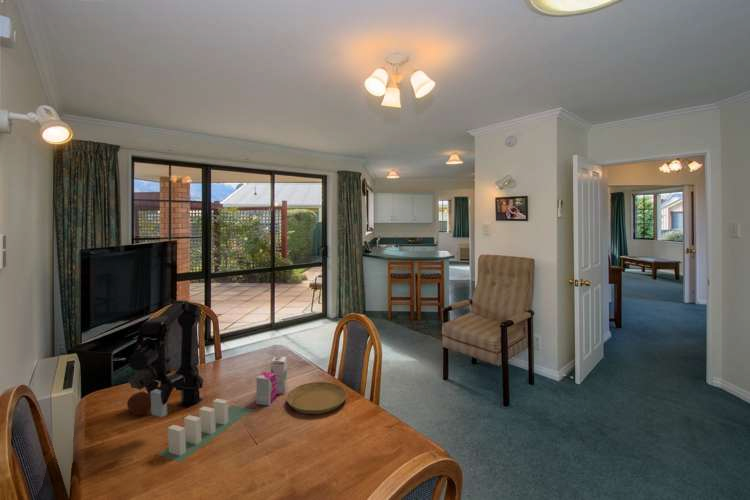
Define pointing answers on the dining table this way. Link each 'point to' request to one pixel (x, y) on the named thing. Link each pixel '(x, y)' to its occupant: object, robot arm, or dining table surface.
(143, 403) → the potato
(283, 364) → the syrup box
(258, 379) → the supplement box
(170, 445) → the domino
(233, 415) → the strip
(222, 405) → the domino
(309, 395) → the plant saucer
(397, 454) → the dining table surface
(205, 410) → the domino
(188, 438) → the domino
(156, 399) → the slate domino
